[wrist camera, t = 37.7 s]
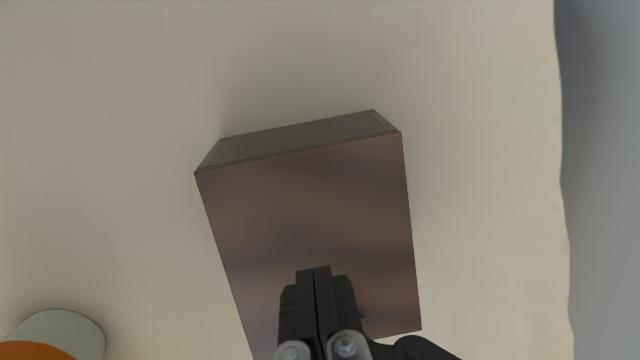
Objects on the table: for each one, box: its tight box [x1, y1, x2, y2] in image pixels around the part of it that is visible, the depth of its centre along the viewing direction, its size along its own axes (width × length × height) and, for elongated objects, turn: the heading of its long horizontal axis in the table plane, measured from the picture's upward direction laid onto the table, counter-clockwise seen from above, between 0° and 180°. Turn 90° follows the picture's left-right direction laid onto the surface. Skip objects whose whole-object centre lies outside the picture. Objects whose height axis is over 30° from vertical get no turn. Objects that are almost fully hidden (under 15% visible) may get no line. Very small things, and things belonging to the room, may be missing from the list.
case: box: [196, 110, 398, 170], centre depth 31 cm, size 17×15×8 cm
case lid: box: [194, 130, 422, 360], centre depth 24 cm, size 17×15×5 cm
